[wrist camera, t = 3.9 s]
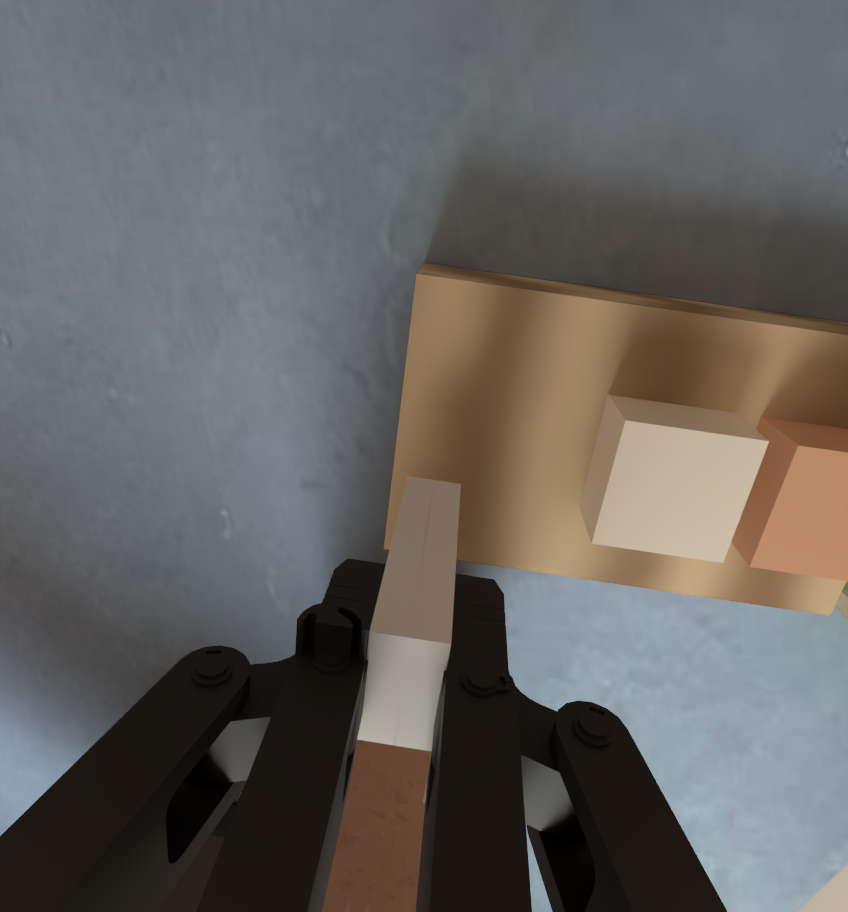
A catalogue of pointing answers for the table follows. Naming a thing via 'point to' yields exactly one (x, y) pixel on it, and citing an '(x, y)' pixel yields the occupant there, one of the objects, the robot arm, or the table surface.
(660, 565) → the flat wooden block
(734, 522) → the beige square block
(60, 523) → the table surface
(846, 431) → the terracotta clay block
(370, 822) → the travel mug
